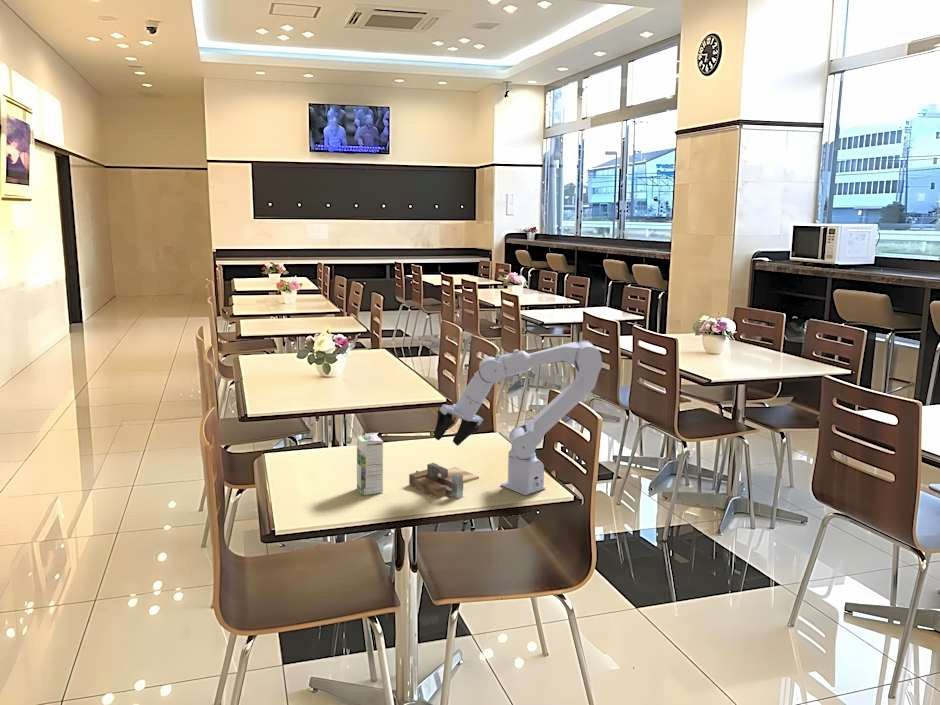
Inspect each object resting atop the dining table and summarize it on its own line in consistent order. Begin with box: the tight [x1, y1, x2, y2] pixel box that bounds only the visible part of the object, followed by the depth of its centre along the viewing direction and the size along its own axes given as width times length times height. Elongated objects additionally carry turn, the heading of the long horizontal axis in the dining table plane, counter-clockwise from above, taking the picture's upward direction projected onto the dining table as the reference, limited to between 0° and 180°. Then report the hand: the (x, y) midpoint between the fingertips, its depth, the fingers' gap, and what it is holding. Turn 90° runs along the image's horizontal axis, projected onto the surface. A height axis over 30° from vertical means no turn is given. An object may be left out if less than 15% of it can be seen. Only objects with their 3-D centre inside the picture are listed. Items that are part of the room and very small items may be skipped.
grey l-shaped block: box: [444, 473, 464, 500], centre depth 200 cm, size 7×2×6 cm, turn 41°
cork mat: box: [447, 466, 480, 484], centre depth 214 cm, size 10×8×1 cm
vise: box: [408, 462, 452, 499], centre depth 206 cm, size 14×9×6 cm, turn 41°
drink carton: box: [356, 434, 384, 496], centre depth 201 cm, size 6×6×14 cm
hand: (445, 440), depth 204 cm, fingers open, 7 cm apart
